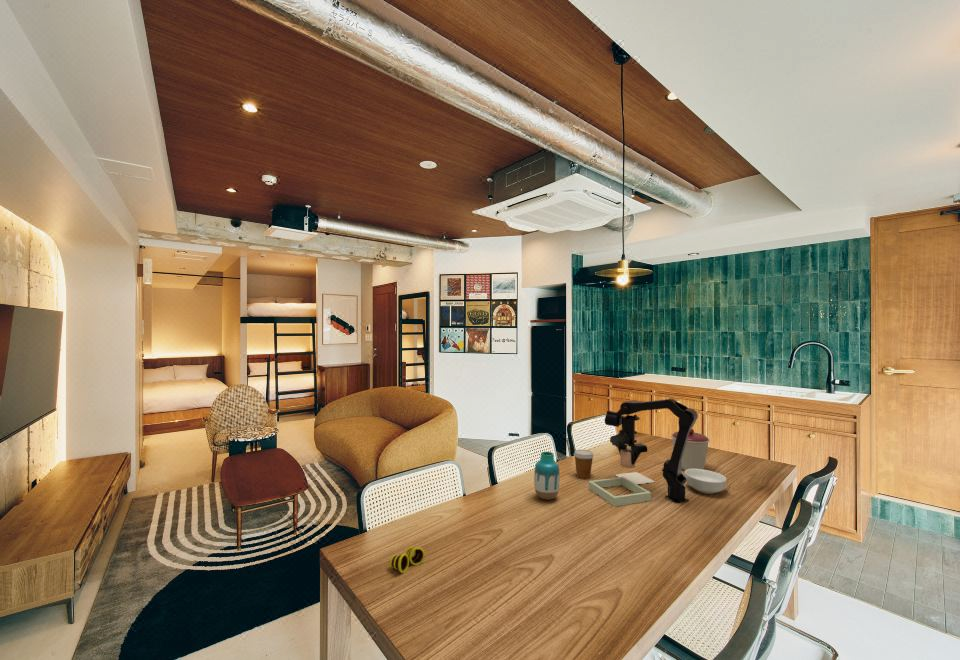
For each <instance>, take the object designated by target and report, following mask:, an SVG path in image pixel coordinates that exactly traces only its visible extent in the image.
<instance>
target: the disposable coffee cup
mask: <svg viewBox="0 0 960 660" xmlns="http://www.w3.org/2000/svg"><path fill="white" fill-rule="evenodd" d="M573 456H574V462H575V471H576V473H575V474H576V477H577V476H578V477H577V478H579V477H581V478H580V479H582V478H588V479H590V478H589V477H591V473H592V466H593V458H594V456H595V455H594V453H593V451H591V450H588V449H582V448H581V449H575V450H574V453H573Z"/></svg>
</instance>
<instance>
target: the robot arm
mask: <svg viewBox="0 0 960 660" xmlns="http://www.w3.org/2000/svg"><path fill="white" fill-rule="evenodd" d="M663 409H668V410H669V411H670V412H671V413H672V414H673V415H674V416H675V417H677V418H678V431H677V432H678V434H677V438H676V441H675V445H674V448H673V447H672V451H671V456H670V459H669V458H668V459H666V460H665V461H664V462H663V468H662V469H661V472H662V476H663V479H664V480H665V481H666V484H667V495H665V496H664V498H667V499H669V500H670V501H672V502H674V503H676V504H678V503H679V504H680V503H683V502H684V503H685V502H689V499H688V498H686V486H685V484H686V483H687V482H686V480H687V479H686V478H685V477H684V474H683V473H682V470H683V469H682V465H681V460H682V456H683V453H684V450H685V446H686V443H687V439H688V436H689V432H690V430H691V429H693V427H694V425H695V424H696V422H697V420H698V417H699V413H698V412H697V411H696V410H695V409H693V408H689V407H687V406H686V405H684V404H682V403H681V402H679V401H677V400H676V399H674V398H672V397H669V398H665V399H657V400H656V399H655V400H647V401H639V400H627V401H624V402H622V403H621V404H620V408H619V410H617V411H612V410H607V411H606V414H605V416H604V417H605V418H604V424H605V426H606V425H607V426H612V427H617V428H618V427H620V426H621V429H619V431H618V433H617V434H615V435H611V436H610V437H609V442H610V443H611V445H612V446H615V447H616V448H617V450H618V452H619V454H620V450H621V449H623V448H628V447H629V448H630V449H631V450H629V452H630V453H631V463H632V465H634V464H635V465H636V462H637V461H638V458H639V456H640V455H641V454H642V453H648V445H646V444H644V443H641V442H639V443H637V442H638V441H637V440H636V437H635V436H636V435H637V434H638V432H637V430H636V421H639V420H640V417H639V416H638V415H637V414H636V413H639V412H642V411H652V410H663ZM632 414H634V415H632Z"/></svg>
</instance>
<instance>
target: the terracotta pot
mask: <svg viewBox="0 0 960 660" xmlns="http://www.w3.org/2000/svg"><path fill="white" fill-rule="evenodd" d="M629 450H631V448H629V447H627V448H623V449H621V450H620V453H619V455H620V458H619V459H620V460H619V463H620V464H619V465H620V467H623V468H626V469H634V468H635V467H636V463H635V464H634V465H632V463H631V453H630V452H629Z"/></svg>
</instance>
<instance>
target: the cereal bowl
mask: <svg viewBox="0 0 960 660" xmlns="http://www.w3.org/2000/svg"><path fill="white" fill-rule="evenodd" d="M683 473H684V474H683V475H684V477H685V478H686V479H687V480H686V482H685V483H687V485H689V486H690V487H692V488H693V489H694V490H695V491H697V492H699V493H703V494H708V495H709V494H714V493H720V492H722V491H723V490H725V488H726V487H727V481H728V480H727V478H726V476H725V475H723V474H722V473H718V472H717V471H711V470H708V469H687V470H684V472H683Z"/></svg>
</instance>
